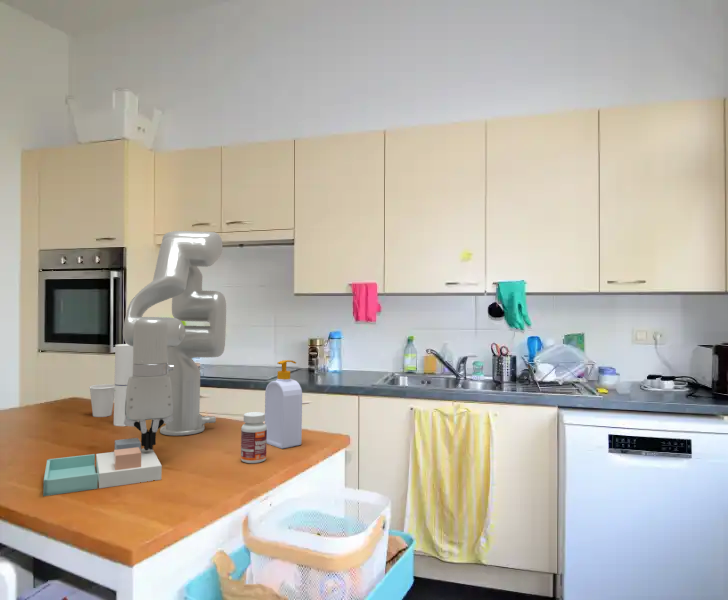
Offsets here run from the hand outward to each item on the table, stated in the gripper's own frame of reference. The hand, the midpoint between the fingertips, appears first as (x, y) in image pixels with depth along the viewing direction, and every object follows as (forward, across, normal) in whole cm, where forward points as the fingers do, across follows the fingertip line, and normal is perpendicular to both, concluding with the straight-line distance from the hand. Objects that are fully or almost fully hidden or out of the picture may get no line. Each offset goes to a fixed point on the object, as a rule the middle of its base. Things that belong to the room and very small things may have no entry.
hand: (148, 448), depth 121 cm
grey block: (+1, +4, 0) cm, 5 cm away
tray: (+4, +16, +4) cm, 17 cm away
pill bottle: (+4, -23, +8) cm, 25 cm away
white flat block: (+4, +5, +4) cm, 7 cm away
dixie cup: (+4, +6, -66) cm, 66 cm away
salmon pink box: (+1, +5, +9) cm, 10 cm away
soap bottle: (+4, -35, -3) cm, 36 cm away
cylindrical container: (+4, 0, -49) cm, 49 cm away
